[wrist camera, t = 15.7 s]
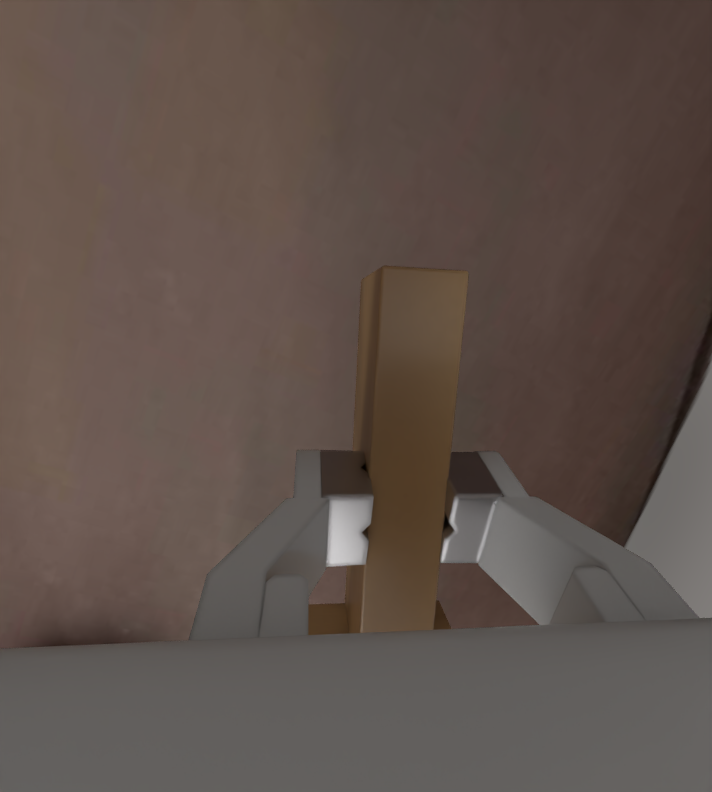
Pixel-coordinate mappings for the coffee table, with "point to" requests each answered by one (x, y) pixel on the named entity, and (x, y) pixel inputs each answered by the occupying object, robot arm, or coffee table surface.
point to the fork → (402, 447)
